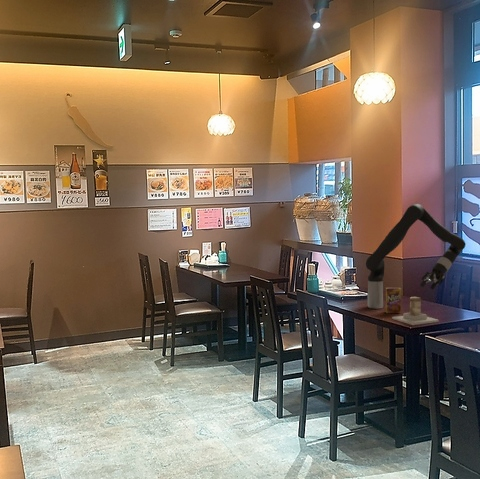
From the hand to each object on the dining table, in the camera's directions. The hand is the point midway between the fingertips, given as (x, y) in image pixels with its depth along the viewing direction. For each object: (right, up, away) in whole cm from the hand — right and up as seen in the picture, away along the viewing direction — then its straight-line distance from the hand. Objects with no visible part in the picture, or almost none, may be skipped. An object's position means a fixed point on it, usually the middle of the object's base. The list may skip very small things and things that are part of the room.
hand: (426, 287), depth 334 cm
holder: (-7, -18, -2) cm, 20 cm away
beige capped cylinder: (-7, -17, -2) cm, 19 cm away
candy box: (-13, -17, +22) cm, 31 cm away
